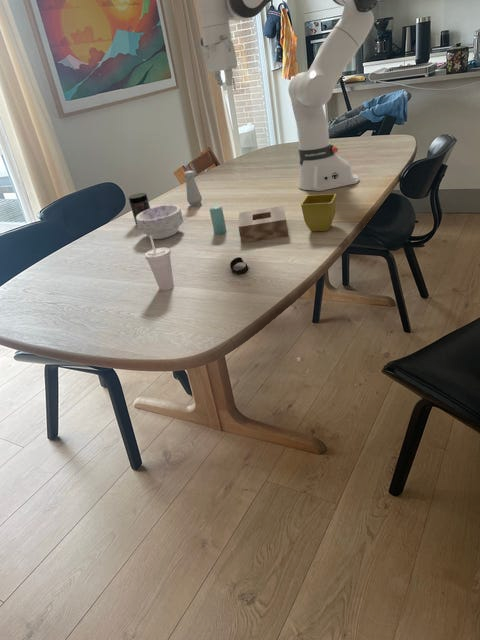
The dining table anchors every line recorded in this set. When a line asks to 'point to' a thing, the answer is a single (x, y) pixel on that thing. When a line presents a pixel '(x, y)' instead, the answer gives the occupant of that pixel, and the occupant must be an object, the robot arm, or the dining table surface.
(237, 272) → the watch
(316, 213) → the flower pot
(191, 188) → the salt shaker
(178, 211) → the paper bowls
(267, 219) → the bore block
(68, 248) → the dining table surface
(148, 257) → the smoothie
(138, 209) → the supplement container
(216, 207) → the dowel
